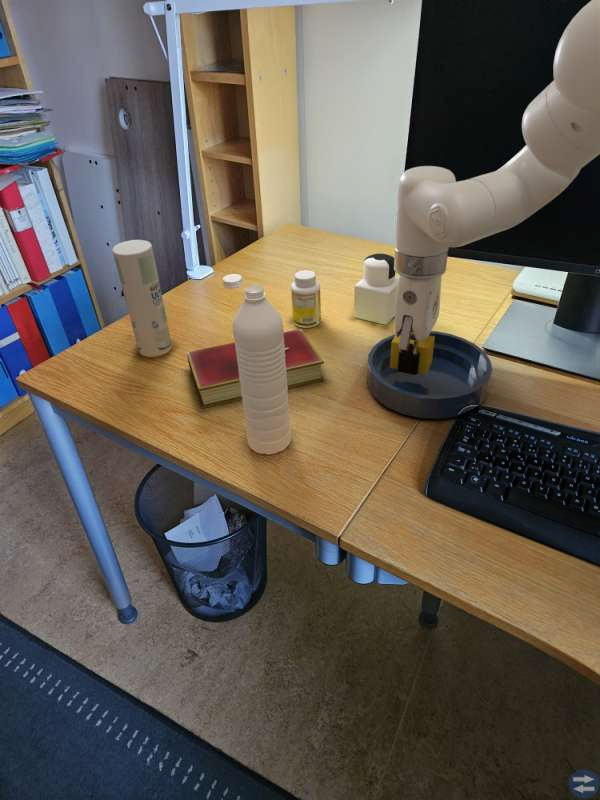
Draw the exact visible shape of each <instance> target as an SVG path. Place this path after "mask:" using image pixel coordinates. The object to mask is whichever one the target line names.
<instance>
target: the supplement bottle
mask: <svg viewBox="0 0 600 800" xmlns="http://www.w3.org/2000/svg"><path fill="white" fill-rule="evenodd" d="M316 276H317V275H316V272H314V271H312V270H309V269H308V270H307V269H305V270H299V271H296V272H295V273H294V281H293V282H292V284H291V285H290V290H291V291H290V292H291V293H290V294H291V306H292V307H291V309H292V321H293V323H294V325H295V326H296V327H299V328H301V329H302V328H303V329H309V328H314V327H316V326H318V325H319V324H320V323H321V321H322V309H321V308H322V306H321V304H322V303H321V301H322V300H321V284H320V283H319V281H317V277H316Z"/></svg>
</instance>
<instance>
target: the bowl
mask: <svg viewBox="0 0 600 800" xmlns="http://www.w3.org/2000/svg"><path fill="white" fill-rule="evenodd" d="M429 336H435V340H434V349H433V358H432V363H431V365H430V367H429V370H428V372H427V374H426V375H423V374H418V373H417V374H416V375H413V374H408V373H403V372H399V371H398V369H393V368H390V359H391V342H392V340H393V339H394V337H395V334H391V335H389V336H387V337H385V338H383V339H381V340H380V341H378V342H377V343H376V344H374V345H373V347H372V348H371V350H370V351H369V353H368V356H367V363H366V364H367V365H366V366H367V367H366V385H367V387H368V390H369V392H370V393H371V394H372V396H373V397H374V398H375V399H376V401H378V402H380V403H381V404H382V405H384V407H386V408H388V409H389V410H393V411H395V412H397V413H398V414H399V413H400V414H402V415H406V416H410V417H414V418H419V419H433V420H439V419H440V420H441V419H448V418H449V419H450V418H451V419H452V418H455V417H458V413H459V412H460V411H461V410H462V409H463V408H465V407H467V406H470V405H479V406H480V405H481V404H482V403H483V402H484V401H485V400H486V399H487V395H488V392H489V388H490V384H491V379H492V375H493V365H492V361H491V359H490V357H489V356H488V354H487V353H486V352H485V351H484V350H483V349H482V348H481V347H480V346H478V345H477V344H475V343H474V342H472V341H470V340H468V339H466V338H464V337H461V336H458V335H455V334H452V333H448V332H443V331H436V330H432V331H431V333H430V334H429Z"/></svg>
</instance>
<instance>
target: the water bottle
mask: <svg viewBox="0 0 600 800" xmlns="http://www.w3.org/2000/svg"><path fill="white" fill-rule="evenodd" d="M222 284H223V287H224V288H225V289H228V290H234V289H235V290H236V289H239V288H241V287H243V285H244V281H243V275H240V274H239V273H231V274H226V275H224V276H223V278H222ZM266 296H267V293H266V292H265V289H264V287H263V286H262V285H260V284H250V285H248V286H246V287H245V289H244V294H243V299H244V300H243V302H242V304H241V305H240V307H239V309H238V310H237V312H236V314H235V315H234V318H233V322H232V334H233V339H234V342H235V347H236V355H237V362H238V370H239V379H240V386H241V395H242V399H243V400H241V401H242V407H243V416H244V424H245V430H246V440H247V444H248V446H249V448H250V449H251V450H253V451H254V452H255V453H257V454H260V455H276V454H277V453H281V452H283V451H284V450H286V449H287V448H288V446H289V445H290V444H291V441H292V432H291V431H292V430H291V418H290V407H289V406H290V405H289V396H288V394H289V391H288V390H289V389H288V387H287V374H286V364H285V349H284V332H285V331H284V321H283V318H282V316H281V314H280V312H279V311H278V310H277V309H276V307H274V305H272V303H271V302H270V301H269V300H268V299H267V298H266Z"/></svg>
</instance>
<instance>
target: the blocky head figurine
mask: <svg viewBox="0 0 600 800" xmlns="http://www.w3.org/2000/svg"><path fill="white" fill-rule="evenodd" d="M394 258H395V256H392V255H390V254H387V253H372V254H369V255H367V256H366V257H365V258H364V261H363V278H362V279H360V280H359V281H358V282H357V283H356V284H354V309H353V310H354V311H353V312H354V313H353V315H354V318H356V319H360V320H365V321H369V322H372V323H376V324H380V325H384V326H386V325H388V324H389V323H390V322H391V321H392V320H393V319H394V318H395V310H396V300H397V291H398V290H397V288H398V283H399V276H396V272H395V270H394Z"/></svg>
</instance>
